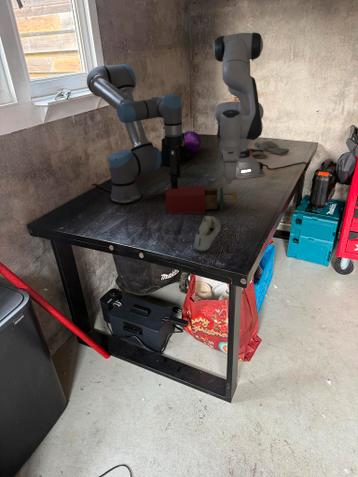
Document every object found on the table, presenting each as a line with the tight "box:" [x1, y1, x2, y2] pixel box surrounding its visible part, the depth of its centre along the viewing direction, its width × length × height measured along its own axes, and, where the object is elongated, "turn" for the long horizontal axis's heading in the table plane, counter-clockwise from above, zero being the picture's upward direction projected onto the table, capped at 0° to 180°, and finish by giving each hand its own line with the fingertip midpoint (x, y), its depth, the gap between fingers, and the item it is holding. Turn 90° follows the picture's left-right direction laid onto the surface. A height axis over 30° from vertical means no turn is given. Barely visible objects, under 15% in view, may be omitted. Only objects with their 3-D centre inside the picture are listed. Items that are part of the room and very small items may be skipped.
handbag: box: [160, 132, 188, 167], centre depth 211 cm, size 21×9×25 cm, turn 148°
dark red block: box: [165, 185, 206, 215], centre depth 152 cm, size 17×11×9 cm, turn 85°
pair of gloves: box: [247, 140, 290, 159], centre depth 223 cm, size 30×26×5 cm
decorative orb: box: [183, 130, 202, 154], centre depth 230 cm, size 15×15×15 cm
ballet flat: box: [193, 215, 222, 253], centre depth 127 cm, size 8×24×8 cm, turn 163°
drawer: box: [205, 187, 238, 212], centre depth 150 cm, size 22×10×7 cm, turn 85°
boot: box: [216, 121, 221, 148], centre depth 246 cm, size 9×24×20 cm, turn 168°
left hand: (176, 182), depth 148 cm, fingers open, 13 cm apart
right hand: (229, 182), depth 146 cm, fingers closed
